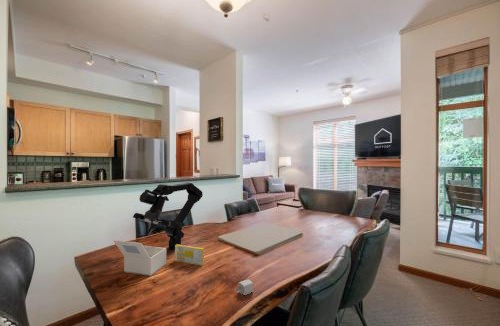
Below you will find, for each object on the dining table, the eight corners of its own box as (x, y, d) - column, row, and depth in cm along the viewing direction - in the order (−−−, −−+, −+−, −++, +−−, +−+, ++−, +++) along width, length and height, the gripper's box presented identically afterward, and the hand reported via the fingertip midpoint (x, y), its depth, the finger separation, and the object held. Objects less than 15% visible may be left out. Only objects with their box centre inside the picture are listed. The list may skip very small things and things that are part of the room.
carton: (142, 260, 117) (142, 245, 117) (166, 264, 114) (166, 248, 114) (124, 272, 106) (124, 255, 106) (150, 276, 103) (150, 258, 102)
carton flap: (113, 239, 99) (113, 240, 99) (141, 242, 96) (140, 243, 96) (124, 255, 106) (123, 256, 105) (150, 258, 102) (149, 259, 102)
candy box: (204, 264, 115) (204, 248, 115) (202, 266, 113) (202, 249, 113) (177, 259, 120) (177, 243, 120) (174, 261, 118) (174, 245, 118)
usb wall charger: (253, 292, 91) (253, 282, 91) (238, 298, 87) (238, 288, 87) (247, 288, 94) (247, 278, 94) (233, 293, 90) (233, 283, 90)
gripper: (134, 200, 116) (122, 231, 111) (170, 209, 117) (160, 240, 112) (142, 203, 127) (131, 232, 122) (175, 211, 128) (165, 240, 123)
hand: (146, 236), depth 119 cm, fingers closed
